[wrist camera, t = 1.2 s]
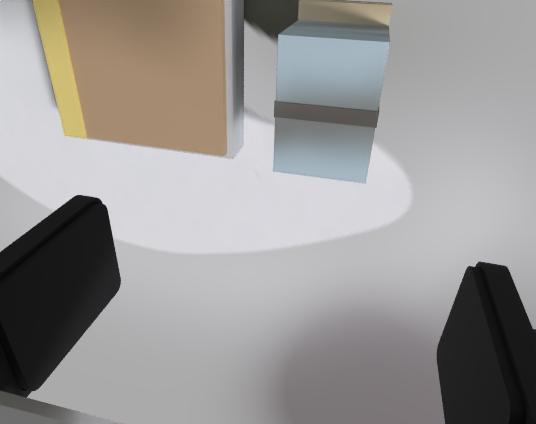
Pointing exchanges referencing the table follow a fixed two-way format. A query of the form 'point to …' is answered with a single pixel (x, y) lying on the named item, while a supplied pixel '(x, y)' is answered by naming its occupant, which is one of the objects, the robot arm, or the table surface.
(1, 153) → the table surface
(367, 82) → the banded blue box
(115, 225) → the table surface
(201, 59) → the dock
